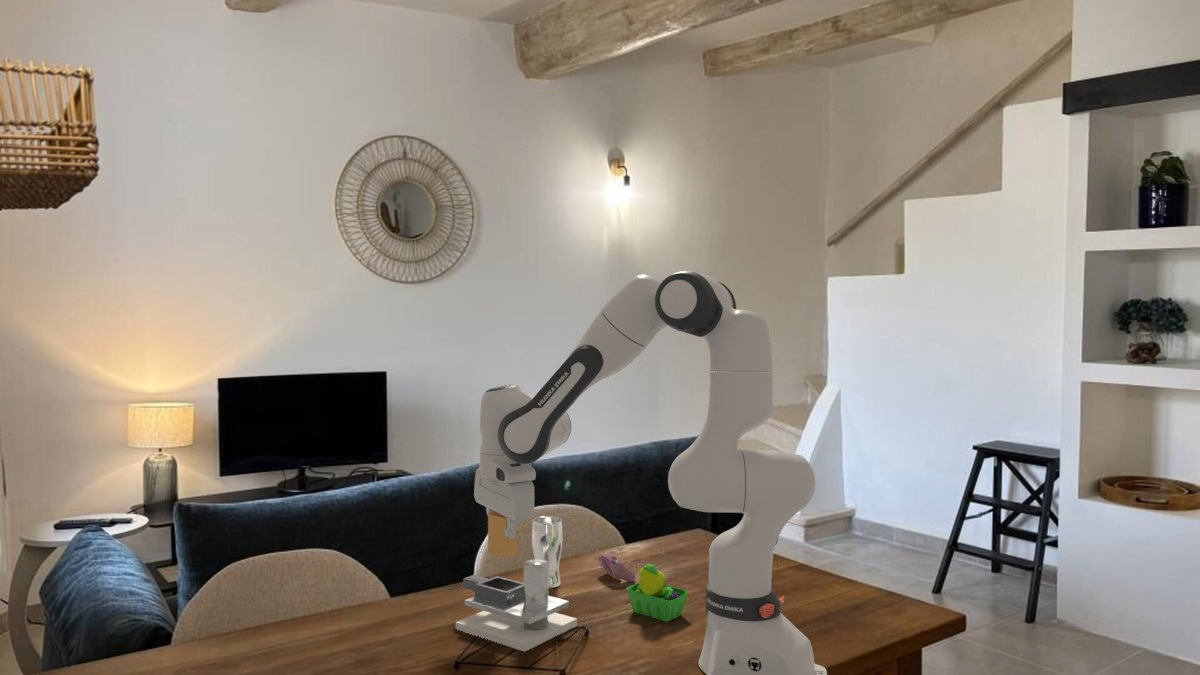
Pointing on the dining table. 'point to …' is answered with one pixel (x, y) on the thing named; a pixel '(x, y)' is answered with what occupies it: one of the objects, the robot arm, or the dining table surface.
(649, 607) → the fruit basket
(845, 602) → the dining table surface
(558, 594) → the dining table surface
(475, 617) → the board
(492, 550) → the wedge
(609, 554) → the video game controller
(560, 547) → the beer glass
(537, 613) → the grey metal fixture
